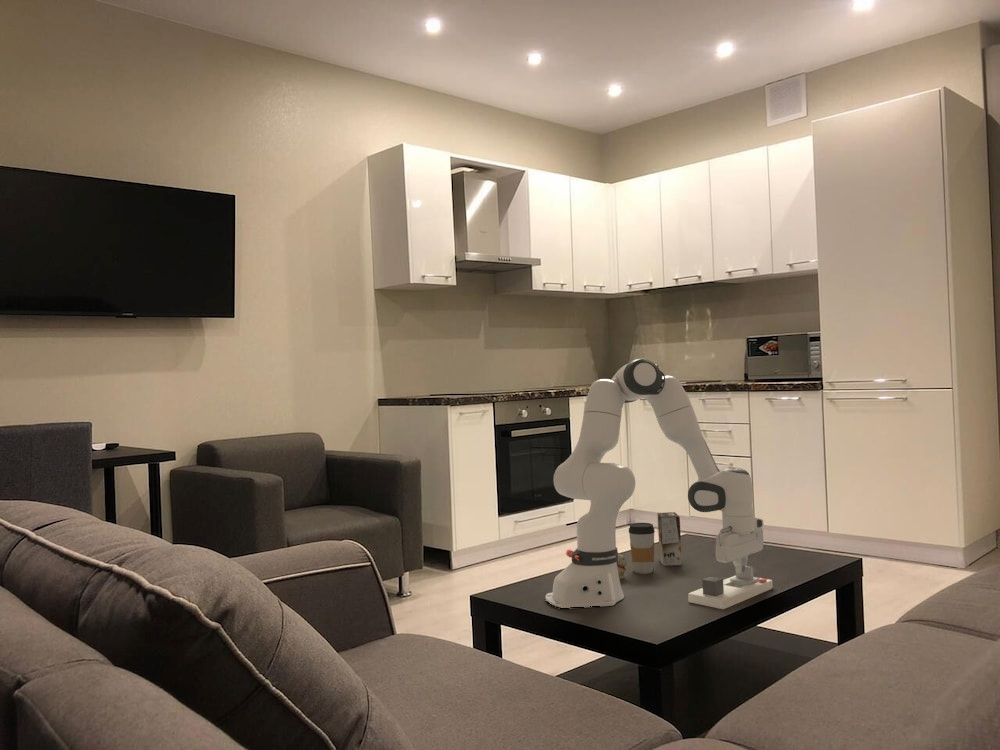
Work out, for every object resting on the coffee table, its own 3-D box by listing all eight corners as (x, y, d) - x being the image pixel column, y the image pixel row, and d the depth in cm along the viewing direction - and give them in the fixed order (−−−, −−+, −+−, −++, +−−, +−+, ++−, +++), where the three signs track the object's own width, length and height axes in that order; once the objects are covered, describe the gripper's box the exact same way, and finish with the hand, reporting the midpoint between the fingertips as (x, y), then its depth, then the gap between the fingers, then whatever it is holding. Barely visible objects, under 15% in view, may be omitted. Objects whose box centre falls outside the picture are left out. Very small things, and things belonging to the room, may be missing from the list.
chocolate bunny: (623, 581, 250) (622, 549, 250) (599, 580, 253) (597, 548, 253) (628, 577, 255) (626, 545, 255) (603, 575, 258) (602, 544, 258)
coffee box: (682, 565, 266) (680, 516, 266) (663, 566, 266) (660, 517, 266) (677, 558, 275) (675, 511, 275) (658, 559, 275) (656, 512, 275)
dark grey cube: (715, 596, 221) (715, 581, 221) (703, 593, 223) (702, 579, 223) (723, 593, 223) (723, 578, 223) (711, 590, 226) (710, 576, 226)
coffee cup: (656, 574, 256) (654, 527, 256) (629, 574, 257) (627, 527, 257) (656, 568, 264) (654, 522, 264) (630, 568, 266) (628, 522, 265)
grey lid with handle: (748, 584, 230) (748, 569, 230) (730, 581, 235) (729, 566, 235) (759, 579, 234) (759, 565, 234) (741, 576, 239) (740, 562, 239)
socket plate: (723, 609, 217) (722, 597, 217) (688, 602, 225) (688, 590, 225) (772, 588, 234) (772, 577, 234) (738, 582, 242) (738, 571, 242)
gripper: (728, 531, 224) (730, 581, 224) (766, 519, 237) (768, 566, 237) (708, 528, 228) (711, 577, 228) (747, 517, 242) (749, 563, 242)
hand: (740, 572), depth 233 cm, fingers closed
